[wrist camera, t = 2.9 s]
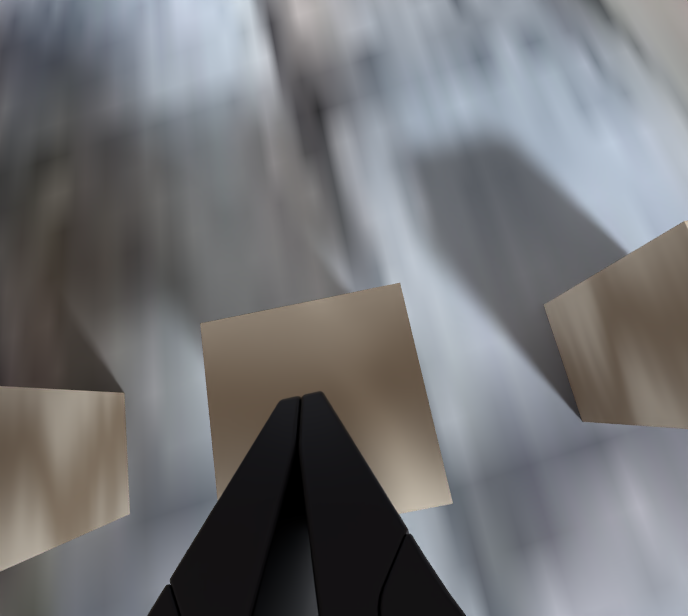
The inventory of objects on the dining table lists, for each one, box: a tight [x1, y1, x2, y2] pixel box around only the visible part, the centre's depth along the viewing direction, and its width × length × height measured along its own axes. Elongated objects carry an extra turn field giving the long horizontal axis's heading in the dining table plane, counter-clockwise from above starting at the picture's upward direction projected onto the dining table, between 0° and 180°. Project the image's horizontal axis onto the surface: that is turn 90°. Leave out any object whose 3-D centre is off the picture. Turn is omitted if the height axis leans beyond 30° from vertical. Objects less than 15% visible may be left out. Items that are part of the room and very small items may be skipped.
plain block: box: [200, 283, 453, 514], centre depth 13 cm, size 5×5×8 cm
